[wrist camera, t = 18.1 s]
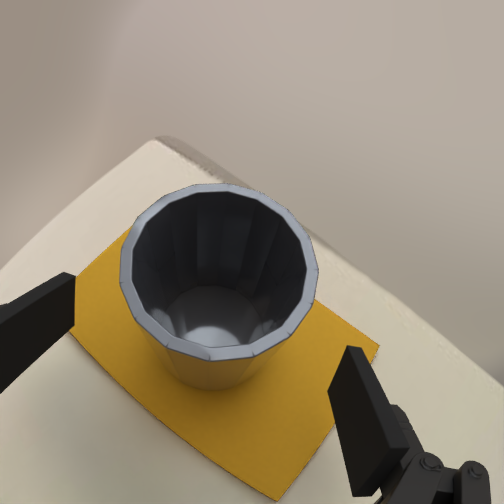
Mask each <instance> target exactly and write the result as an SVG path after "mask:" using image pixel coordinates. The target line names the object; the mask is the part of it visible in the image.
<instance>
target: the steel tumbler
mask: <svg viewBox="0 0 504 504" xmlns="http://www.w3.org/2000/svg"><path fill="white" fill-rule="evenodd" d="M318 270H319V269H318V265H317V261H316V257H315V254H314V250H313V246H312V243H311V239H310V237H309V236H308V234H307V233H306V232H305V230H304V229H303V228H302V226H301V225H300V224H299V222H298V221H297V220H296V218H295V217H294V216H293V214H292V213H291V212H289V210H288V209H286V208H285V207H283V206H282V205H280V204H279V203H277V202H276V201H274V200H273V199H271V198H269V197H268V196H266V195H265V194H263V193H261V192H258V191H255V190H251V189H248V188H244V187H241V186H237V185H233V184H228V183H220V184H196V185H192V186H189V187H186V188H183V189H181V190H178V191H175V192H172V193H170V194H167V195H164V196H163V197H161V198H160V199H159V200H157V201H156V202H155V203H154V204H153V205H151V206H150V207H149V208H148V209H147V210H145V211H144V212H143V213H142V214H141V215H139V216H138V217H137V219H136V220H135V222H134V224H133V226H132V228H131V230H130V232H129V233H128V235H127V237H126V239H125V241H124V243H123V245H122V247H121V252H120V271H119V284H120V285H119V286H120V288H121V290H122V293H123V295H124V298H125V300H126V303H127V305H128V307H129V310H130V312H131V314H132V316H133V319H134V320H135V322H136V324H137V325H138V327H139V329H140V330H141V332H142V333H143V335H144V337H145V338H146V340H147V341H148V343H149V345H150V346H151V348H152V349H153V351H154V352H155V354H156V356H157V357H158V359H159V360H160V362H161V363H162V365H163V366H164V367H165V369H166V370H168V371H169V372H170V373H171V374H172V375H173V376H174V377H175V378H176V379H178V380H179V381H181V382H182V383H184V384H186V385H188V386H190V387H193V388H196V389H200V390H205V391H221V390H227V389H231V388H234V387H236V386H238V385H240V384H242V383H244V382H245V381H247V380H248V379H250V378H252V377H253V376H254V375H255V374H256V373H257V372H258V371H259V370H260V369H261V368H262V367H263V366H264V365H265V364H266V363H267V362H268V361H269V360H270V359H271V358H272V356H273V355H274V354H275V353H276V352H277V351H278V350H279V349H280V348H281V347H282V346H283V345H284V344H285V343H286V342H287V341H288V339H289V338H290V337H291V336H292V335H293V334H294V332H295V331H296V329H297V328H298V327H299V325H300V324H301V322H302V321H303V320H304V318H305V317H306V315H307V314H308V312H309V311H310V310H311V308H312V305H313V304H314V298H315V292H316V286H317V280H318V274H319V271H318Z"/></svg>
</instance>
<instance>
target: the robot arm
mask: <svg viewBox="0 0 504 504" xmlns="http://www.w3.org/2000/svg"><path fill="white" fill-rule="evenodd" d="M75 285H76V276H74V275H71V274H68V273H65V272H62V273H61V274H59V275H57V276H55V277H53V278H52V279H50V280H48V281H46V282H45V283H43V284H41V285H39V286H37V287H36V288H34V289H32V290H31V291H29V292H27V293H25V294H24V295H22V296H20V297H19V298H17V299H15V300H13V301H12V302H10V303H8V304H7V303H6V304H3V305H0V394H1V393H2V392H3V391H4V390H5V389H6V388H7V387H8V386H9V385H10V384H11V383H12V382H13V381H14V380H15V379H16V378H17V377H19V376H20V375H21V374H22V373H23V372H24V371H25V370H26V369H27V368H28V367H29V366H30V365H31V364H32V363H33V362H35V361H36V360H37V359H38V358H39V357H40V356H41V355H42V354H43V353H44V352H46V351H47V350H48V349H49V348H50V347H51V346H52V345H53V344H54V343H55V342H57V341H58V340H59V339H60V338H61V337H62V336H63V335H64V334H66V333H67V332H68V331H69V330H70V329H71V328H72V327H74V326H75ZM327 393H328V396H329V400H330V404H331V408H332V412H333V416H334V420H335V424H336V428H337V432H338V436H339V440H340V445H341V449H342V453H343V457H344V461H345V466H346V470H347V474H348V479H349V483H350V487H351V492H352V496H353V497H368V496H372V495H373V494H374V493H375V492H376V491H377V489H378V488H379V487H380V490H381V493H382V496H381V497H380V498H379V499H378V500H377V501H376V502H375V503H374V504H491V494H490V483H489V475H488V472H487V470H486V468H485V467H484V466H483V465H481V464H480V463H478V462H476V461H467V462H465V463H464V464H463V465H462V466H461V467H460V468H459V470H458V469H452V468H447V467H444V465H443V463H442V461H441V460H440V459H439V458H438V457H437V456H435V455H434V454H431V453H428V452H424V450H423V447H422V445H421V443H420V441H419V439H418V437H417V435H416V433H415V431H414V430H413V427H412V426H411V424H410V423H409V420H408V418H407V416H406V414H405V412H404V411H403V410H402V409H401V408H400V407H399V406H398V405H391V404H390V403H389V401H388V399H387V397H386V395H385V393H384V391H383V389H382V387H381V385H380V383H379V381H378V379H377V377H376V375H375V373H374V371H373V369H372V367H371V365H370V363H369V361H368V359H367V357H366V355H365V353H364V351H363V349H362V347H356V346H350V345H347V346H346V349H345V351H344V353H343V356H342V358H341V361H340V363H339V365H338V368H337V370H336V372H335V375H334V377H333V379H332V381H331V384H330V386H329V388H328V390H327Z"/></svg>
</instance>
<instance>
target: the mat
mask: <svg viewBox="0 0 504 504" xmlns="http://www.w3.org/2000/svg"><path fill="white" fill-rule="evenodd" d="M132 226H133V225H132ZM132 226H131V227H130V228H129V229H128V230H127V231H126V232H125V233H123V234H122V235H121V236H120V237H119V238H118V239H117V240H116V241H114V242H113V243H112V244H111V245H110V246H109V247H108V248H107V249H106V250H105V251H104V252H102V253H101V254H100V255H99V256H98V257H97V258H96V259H95V260H94V261H93V262H92V263H91V264H90V265H89V266H88V267H87V268H85V269H84V270H83V271H82V272H81V273H80V274H79V275H78V276H77V277H76V285H75V326H74V327H72V328H71V329H70V330H69V331H70V333H71V334H72V335H73V336H74V337H75V338H76V339H77V340H78V342H79V343H80V344H81V345H82V346H83V347H84V348H85V349H86V350H87V351H88V353H89V354H90V355H91V356H92V357H93V358H94V359H95V360H96V361H97V362H98V363H99V364H100V365H101V366H102V367H103V368H104V369H105V370H106V371H107V372H108V373H109V374H110V375H111V376H112V377H113V378H114V379H115V380H116V381H117V382H118V383H119V384H120V385H121V386H122V387H123V388H124V389H125V390H126V391H127V392H128V393H130V394H131V395H132V396H133V397H134V398H135V399H136V400H137V401H138V402H139V403H140V404H142V405H143V406H144V407H145V408H146V409H147V410H148V411H150V412H151V413H152V414H153V415H154V416H155V417H157V418H158V419H159V420H160V421H161V422H162V423H164V424H165V425H166V426H167V427H169V428H170V429H171V430H172V431H173V432H175V433H176V434H177V435H178V436H180V437H181V438H182V439H184V440H185V441H186V442H187V443H189V444H190V445H191V446H193V447H194V448H195V449H197V450H198V451H199V452H201V453H202V454H204V455H205V456H206V457H208V458H209V459H210V460H212V461H213V462H215V463H216V464H218V465H219V466H220V467H222V468H223V469H225V470H226V471H228V472H229V473H231V474H232V475H234V476H235V477H237V478H238V479H240V480H242V481H243V482H245V483H246V484H248V485H250V486H251V487H253V488H254V489H256V490H258V491H259V492H261V493H263V494H264V495H266V496H268V497H270V498H271V499H273V500H275V501H278V500H279V499H280V498H281V496H282V495H283V494H284V493H285V491H286V490H287V489H288V488H289V486H290V485H291V484H292V483H293V481H294V480H295V479H296V477H297V476H298V475H299V473H300V472H301V471H302V469H303V468H304V467H305V465H306V464H307V463H308V461H309V460H310V459H311V457H312V456H313V454H314V453H315V452H316V450H317V449H318V447H319V446H320V444H321V443H322V441H323V440H324V438H325V437H326V436H327V434H328V433H329V431H330V430H331V428H332V426H333V425H334V423H335V420H334V416H333V412H332V408H331V404H330V400H329V396H328V393H327V390H328V388H329V386H330V384H331V381H332V379H333V377H334V375H335V372H336V370H337V368H338V365H339V363H340V361H341V358H342V356H343V353H344V351H345V349H346V346H347V345H350V346H356V347H362V349H363V351H364V353H365V355H366V357H367V359H368V361H369V363H371V361H372V359H373V357H374V356H375V354H376V352H377V350H378V348H379V345H378V344H377V343H375V342H374V341H373V340H371V339H370V338H368V337H367V336H366V335H364V334H363V333H361V332H360V331H359V330H357V329H356V328H354V327H353V326H352V325H350V324H349V323H347V322H346V321H345V320H343V319H342V318H341V317H339V316H338V315H336V314H335V313H334V312H332V311H331V310H329V309H328V308H327V307H325V306H324V305H322V304H321V303H320V302H318V301H317V300H315V299H314V304H313V305H312V308H311V310H310V311H309V312H308V314H307V315H306V317H305V318H304V320H303V321H302V322H301V324H300V325H299V327H298V328H297V329H296V331H295V332H294V334H293V335H292V336H291V337H290V338H289V339H288V341H287V342H286V343H285V344H284V345H283V346H282V347H281V348H280V349H279V350H278V351H277V352H276V353H275V354H274V355H273V356H272V358H271V359H270V360H269V361H268V362H267V363H266V364H265V365H264V366H263V367H262V368H261V369H260V370H259V371H258V372H257V373H256V374H255V375H254V376H253V377H252V378H250V379H248V380H247V381H245V382H244V383H242V384H240V385H238V386H236V387H234V388H231V389H227V390H221V391H205V390H200V389H196V388H193V387H190V386H188V385H186V384H184V383H182V382H181V381H179V380H178V379H176V378H175V377H174V376H173V375H172V374H171V373H170V372H169V371H168V370H166V369H165V367H164V366H163V365H162V363H161V362H160V360H159V359H158V357H157V356H156V354H155V352H154V351H153V349H152V348H151V346H150V345H149V343H148V341H147V340H146V338H145V337H144V335H143V333H142V332H141V330H140V329H139V327H138V325H137V324H136V322H135V320H134V319H133V316H132V314H131V312H130V310H129V307H128V305H127V303H126V300H125V298H124V295H123V293H122V290H121V288H120V286H119V285H120V284H119V271H120V252H121V247H122V245H123V243H124V241H125V239H126V237H127V235H128V233H129V232H130V230H131V228H132Z"/></svg>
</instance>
